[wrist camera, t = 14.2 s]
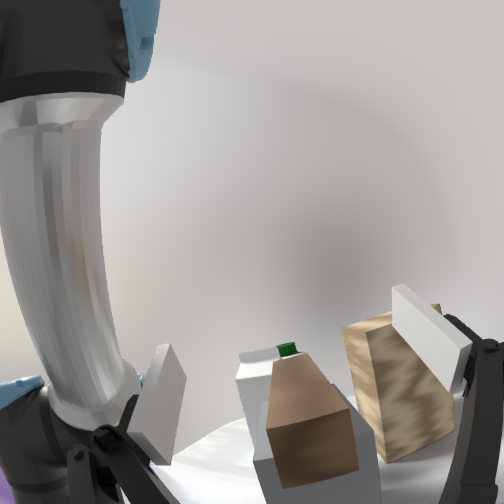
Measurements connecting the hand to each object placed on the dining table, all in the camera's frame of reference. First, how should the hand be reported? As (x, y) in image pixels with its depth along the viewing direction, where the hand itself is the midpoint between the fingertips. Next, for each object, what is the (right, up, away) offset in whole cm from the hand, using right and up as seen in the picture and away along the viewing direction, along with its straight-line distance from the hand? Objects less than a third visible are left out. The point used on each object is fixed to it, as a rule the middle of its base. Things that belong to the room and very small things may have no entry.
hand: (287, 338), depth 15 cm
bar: (+2, -9, +5) cm, 10 cm away
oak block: (+23, -25, +19) cm, 39 cm away
